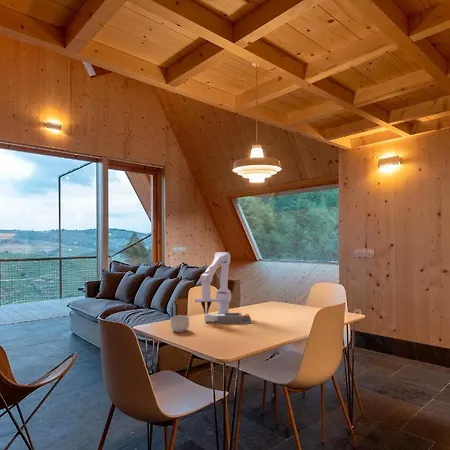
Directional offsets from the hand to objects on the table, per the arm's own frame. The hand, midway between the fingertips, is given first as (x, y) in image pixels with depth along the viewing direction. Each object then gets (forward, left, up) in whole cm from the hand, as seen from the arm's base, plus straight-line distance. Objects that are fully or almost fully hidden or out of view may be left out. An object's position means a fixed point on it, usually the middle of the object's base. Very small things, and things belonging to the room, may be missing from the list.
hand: (206, 313), depth 237 cm
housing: (0, +17, -5) cm, 18 cm away
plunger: (0, +26, -4) cm, 26 cm away
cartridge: (0, +5, -4) cm, 7 cm away
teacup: (+20, -16, -6) cm, 26 cm away
